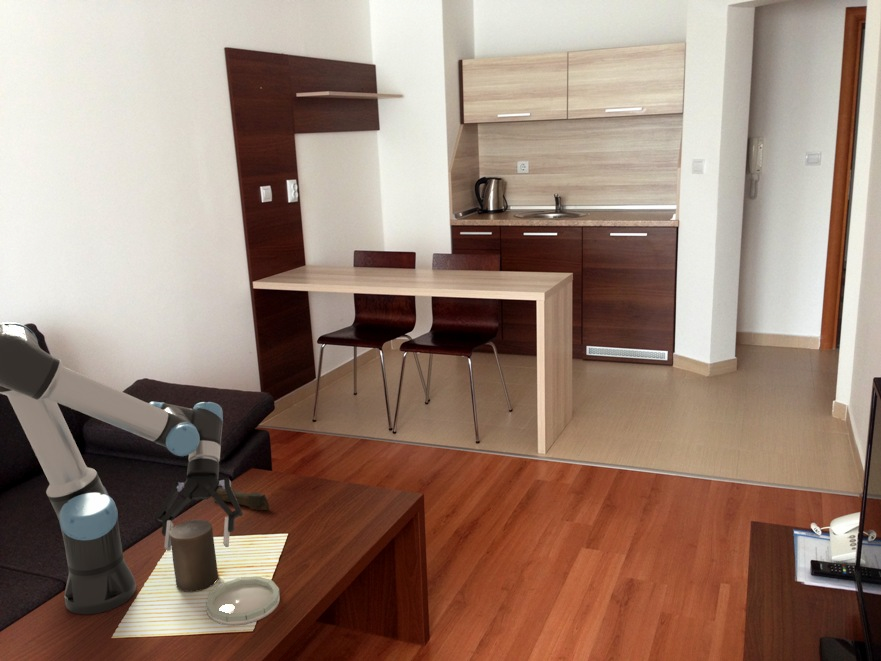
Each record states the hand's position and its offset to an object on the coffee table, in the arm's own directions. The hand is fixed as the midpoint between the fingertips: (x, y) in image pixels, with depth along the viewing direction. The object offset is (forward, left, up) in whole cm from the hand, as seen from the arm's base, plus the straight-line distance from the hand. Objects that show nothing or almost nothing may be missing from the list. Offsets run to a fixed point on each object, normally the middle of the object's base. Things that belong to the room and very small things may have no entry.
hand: (196, 547), depth 185 cm
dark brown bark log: (+3, +40, -9) cm, 41 cm away
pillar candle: (-1, 0, -9) cm, 9 cm away
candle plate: (+12, -11, -9) cm, 19 cm away
